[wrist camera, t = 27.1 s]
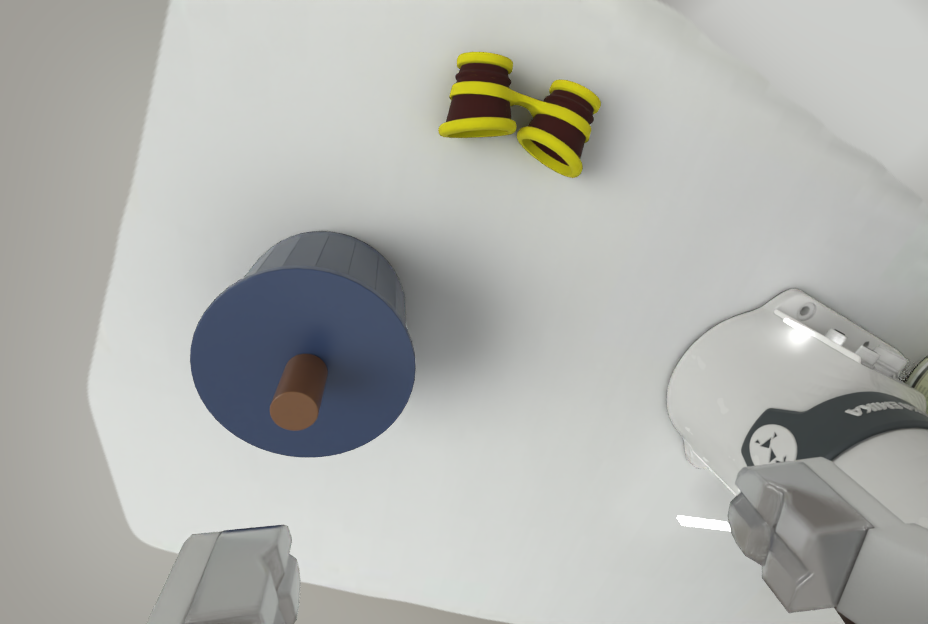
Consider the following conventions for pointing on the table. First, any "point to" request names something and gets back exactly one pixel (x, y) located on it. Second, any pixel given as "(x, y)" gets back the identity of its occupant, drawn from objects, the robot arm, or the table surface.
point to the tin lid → (303, 361)
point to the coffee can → (920, 379)
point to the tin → (337, 261)
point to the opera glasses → (554, 121)
